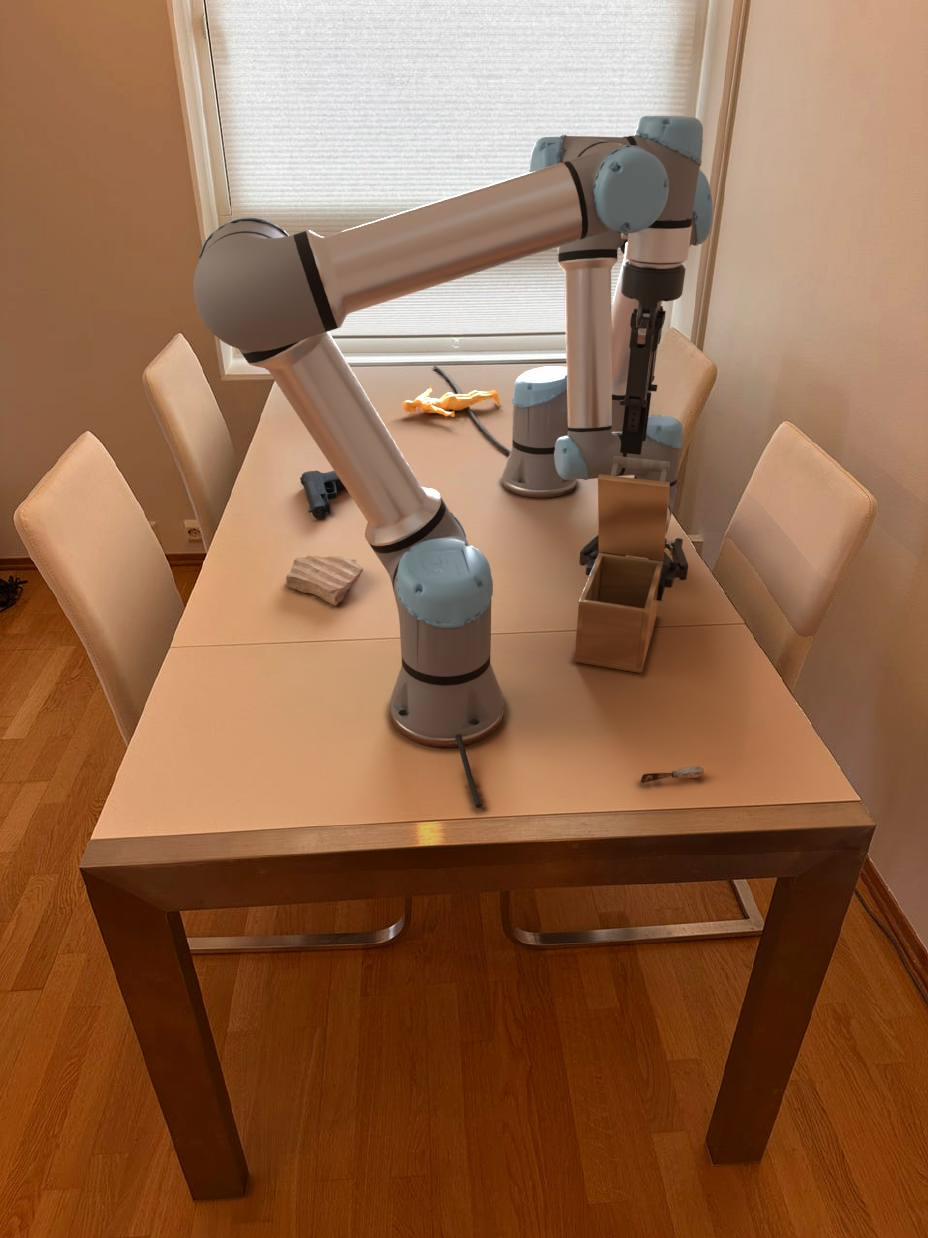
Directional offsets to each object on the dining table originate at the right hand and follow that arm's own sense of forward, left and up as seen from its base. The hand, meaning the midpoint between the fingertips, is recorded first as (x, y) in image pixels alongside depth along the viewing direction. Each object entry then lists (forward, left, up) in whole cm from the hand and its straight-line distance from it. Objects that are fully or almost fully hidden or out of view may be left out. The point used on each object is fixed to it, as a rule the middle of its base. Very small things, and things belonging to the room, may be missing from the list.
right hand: (624, 587), depth 136 cm
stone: (-19, -46, -7) cm, 50 cm away
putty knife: (+35, -4, -7) cm, 36 cm away
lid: (0, 0, +11) cm, 11 cm away
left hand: (+3, -2, +24) cm, 24 cm away
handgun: (-54, -44, -7) cm, 70 cm away
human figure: (-105, -15, -7) cm, 106 cm away
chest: (+4, -2, -7) cm, 8 cm away
